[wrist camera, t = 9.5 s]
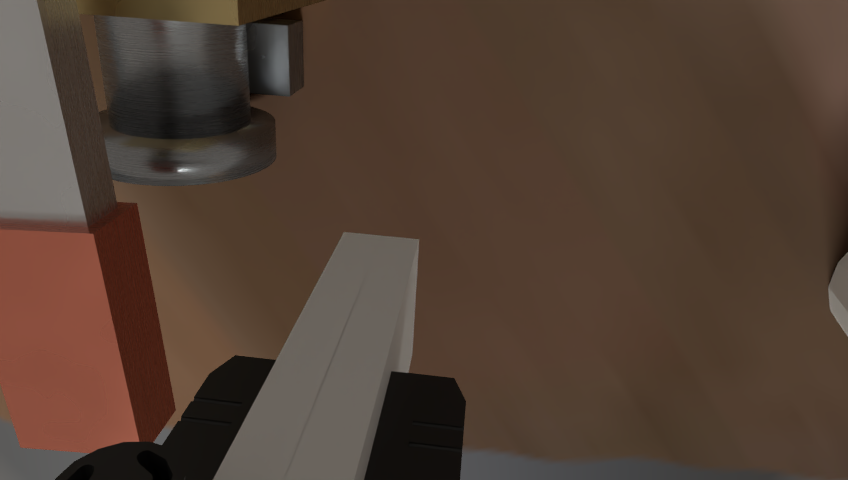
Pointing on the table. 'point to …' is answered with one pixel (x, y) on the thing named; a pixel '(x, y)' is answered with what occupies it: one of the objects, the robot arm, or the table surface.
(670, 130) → the table surface
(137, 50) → the pipe valve
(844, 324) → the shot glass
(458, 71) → the table surface
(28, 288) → the lever
